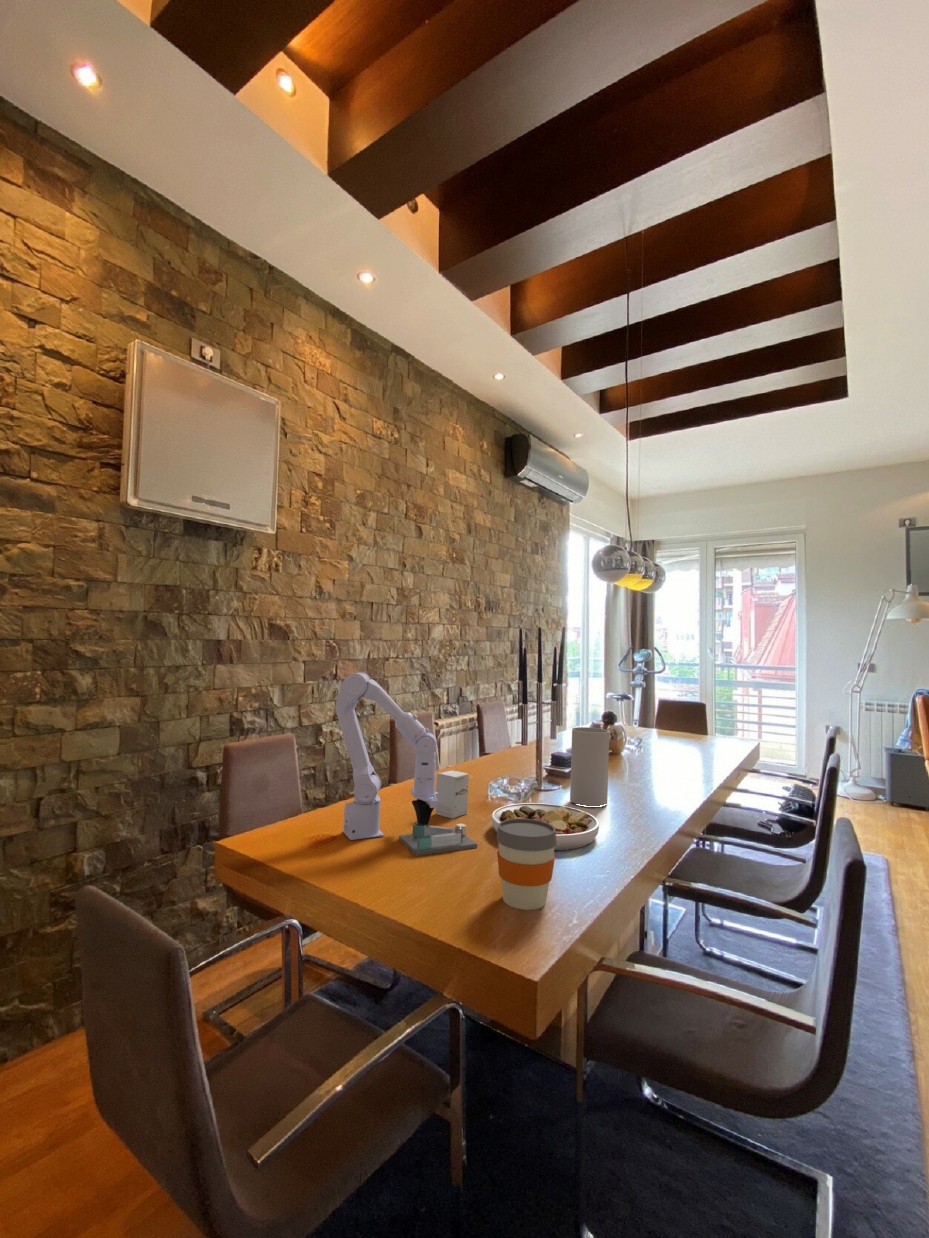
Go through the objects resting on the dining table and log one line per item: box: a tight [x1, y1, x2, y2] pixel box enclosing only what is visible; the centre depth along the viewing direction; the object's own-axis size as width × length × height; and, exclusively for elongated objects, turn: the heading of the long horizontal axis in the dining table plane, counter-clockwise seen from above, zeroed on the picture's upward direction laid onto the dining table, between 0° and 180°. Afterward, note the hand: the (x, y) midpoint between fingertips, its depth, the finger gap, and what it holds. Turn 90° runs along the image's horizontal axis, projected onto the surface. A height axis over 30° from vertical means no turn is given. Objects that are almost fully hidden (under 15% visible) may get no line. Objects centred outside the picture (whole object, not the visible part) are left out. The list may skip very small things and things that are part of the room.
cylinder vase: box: [569, 726, 610, 806], centre depth 198 cm, size 12×12×25 cm
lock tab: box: [455, 823, 467, 836], centre depth 157 cm, size 2×2×2 cm
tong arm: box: [412, 823, 453, 837], centre depth 153 cm, size 10×2×3 cm, turn 78°
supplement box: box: [434, 769, 470, 820], centre depth 179 cm, size 7×7×13 cm
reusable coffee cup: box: [496, 819, 557, 911], centre depth 121 cm, size 13×13×15 cm
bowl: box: [491, 802, 600, 851], centre depth 163 cm, size 30×30×8 cm
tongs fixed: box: [417, 826, 463, 850], centre depth 148 cm, size 13×3×4 cm, turn 116°
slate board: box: [398, 828, 478, 856], centre depth 152 cm, size 17×13×1 cm
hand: (422, 827), depth 158 cm, fingers closed
